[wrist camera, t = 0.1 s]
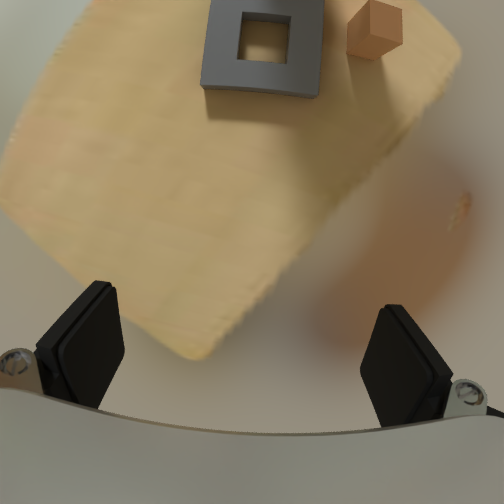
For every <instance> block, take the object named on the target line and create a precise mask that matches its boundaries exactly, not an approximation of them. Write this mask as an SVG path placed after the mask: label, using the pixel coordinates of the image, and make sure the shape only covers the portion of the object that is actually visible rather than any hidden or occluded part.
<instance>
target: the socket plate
mask: <svg viewBox="0 0 504 504" xmlns="http://www.w3.org/2000/svg"><path fill="white" fill-rule="evenodd" d="M243 20H251V21H264V22H274V23H283V24H289V26H288V38H287V50H286V61H285V64H282V63H273V62H263V61H251V60H238V57H239V48H240V40H241V31H242V23H243ZM323 20H324V0H211V5H210V11H209V18H208V25H207V32H206V39H205V47H204V55H203V63H202V71H201V80H200V85H201V86H202V88H203V89H221V90H239V91H252V92H263V93H273V94H282V95H290V96H297V97H304V98H311V99H314V98H315V97H317V96H318V93H319V81H320V68H321V54H322V38H323Z"/></svg>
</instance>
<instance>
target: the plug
mask: <svg viewBox="0 0 504 504" xmlns="http://www.w3.org/2000/svg"><path fill="white" fill-rule="evenodd" d="M402 44H403V36H402V9H400V8H397V7H394V6H391V5H388V4H385V3H382V2H379V1H375V0H368V1H367V3H366V4H365V5H364V6H363V7H362V8H361V9H360V10H359V11H358V12H357V13H356V15H355V16H354V17H353V18H352V19H351V20H350V21H349V22H348V29H347V52H346V54H350V55H355V56H359V57H363V58H367V59H370V60H375V59H377V58H379V57H380V56H382V55H384V54H386V53H387V52H389V51H391V50H393V49H394V48H396V47H398V46H400V45H402Z"/></svg>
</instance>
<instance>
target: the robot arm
mask: <svg viewBox="0 0 504 504" xmlns="http://www.w3.org/2000/svg"><path fill="white" fill-rule="evenodd" d="M36 347H37V349H36V350H35V351H34V353H33V352H32V351H30V350H28V349H24V348H16V349H11V350H8V351H7V352H5V353H4V354H2V355H1V356H0V504H504V413H503V412H501V411H498V410H496V409H494V408H491V407H489V406H487V394H486V392H485V390H484V389H483V388H482V387H481V386H480V385H479V384H477V383H476V382H474V381H471V380H467V379H459V380H456V381H455V382H454V383H452V382H451V380H450V379H451V377H452V376H453V372H452V371H451V369H450V368H449V367H448V365H447V364H446V362H445V361H444V360H443V358H442V357H441V356H440V354H439V353H438V351H437V350H436V349H435V347H434V346H433V345H432V343H431V342H430V341H429V340H428V338H427V337H426V335H425V334H424V333H423V332H422V331H421V329H420V328H419V327H418V325H417V324H416V323H415V321H414V320H413V319H412V317H411V316H410V315H409V314H408V312H407V311H406V310H405V309H404V307H403V306H402V305H394V304H387V305H385V307H384V308H381V309H380V311H379V314H378V317H377V320H376V323H375V326H374V329H373V332H372V335H371V339H370V341H369V344H368V347H367V350H366V352H365V355H364V358H363V361H362V363H361V366H360V373H361V377H362V379H363V382H364V384H365V386H366V389H367V391H368V394H369V396H370V399H371V401H372V404H373V406H374V409H375V412H376V414H377V417H378V419H379V422H380V425H381V427H382V428H374V429H364V430H354V431H341V432H323V433H253V432H236V431H235V432H234V431H222V430H212V429H203V428H194V427H186V426H179V425H172V424H165V423H160V422H154V421H148V420H143V419H138V418H133V417H128V416H124V415H119V414H115V413H111V412H106V411H102V410H98V407H99V405H100V403H101V401H102V399H103V397H104V395H105V393H106V391H107V389H108V387H109V385H110V383H111V381H112V379H113V377H114V375H115V373H116V371H117V369H118V366H119V365H120V363H121V361H122V359H123V356H124V352H125V348H124V342H123V335H122V329H121V323H120V315H119V308H118V300H117V292H116V288H115V287H112V284H111V283H110V282H105V281H97V280H95V281H94V282H93V283H92V284H91V285H90V286H89V287H88V288H87V289H86V290H85V291H84V292H83V293H82V294H81V295H80V296H79V297H78V298H77V299H76V300H75V301H74V302H73V303H72V305H71V306H70V307H69V308H68V309H67V310H66V311H65V312H64V313H63V314H62V315H61V316H60V317H59V319H58V320H57V321H56V322H55V323H54V324H53V325H52V326H51V327H50V329H49V330H48V331H47V332H46V333H45V334H44V335H43V337H42V338H41V339H40V340H39V341H38V342H37V343H36Z"/></svg>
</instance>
